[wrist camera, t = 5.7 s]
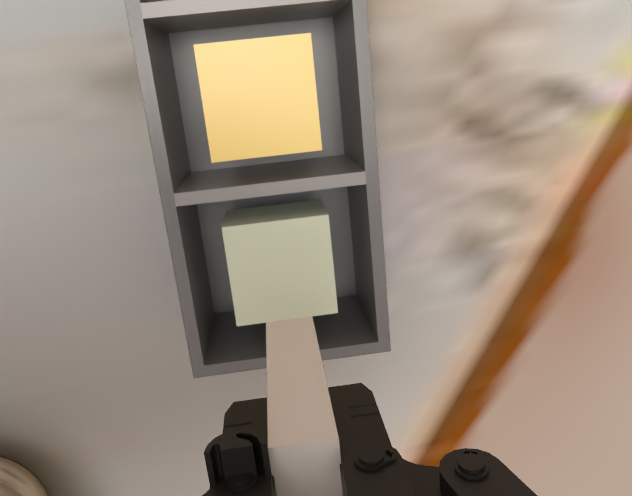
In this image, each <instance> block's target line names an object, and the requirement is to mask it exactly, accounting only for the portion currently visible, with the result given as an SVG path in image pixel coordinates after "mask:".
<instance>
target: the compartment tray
mask: <svg viewBox="0 0 632 496" xmlns="http://www.w3.org/2000/svg"><path fill="white" fill-rule="evenodd" d="M125 5H126V11H127V16H128V22H129V27H130V32H131V38H132V43H133V49H134V54H135V60H136V65H137V71H138V76H139V82H140V87H141V92H142V98H143V103H144V109H145V114H146V120H147V125H148V131H149V136H150V142H151V147H152V152H153V158H154V163H155V169H156V174H157V180H158V185H159V191H160V196H161V202H162V207H163V212H164V218H165V223H166V229H167V234H168V240H169V245H170V251H171V256H172V262H173V267H174V272H175V278H176V283H177V289H178V294H179V300H180V305H181V311H182V316H183V322H184V327H185V333H186V338H187V343H188V349H189V354H190V360H191V365H192V371H193V376H194V378H198V377H205V376H212V375H219V374H227V373H234V372H241V371H249V370H256V369H263V368H267V356H266V323H259V324H251V325H244V326H237V325H236V318H235V312H234V305H233V299H232V292H231V286H230V279H229V273H228V266H227V260H226V253H225V247H224V240H223V234H222V224H223V220H224V217H225V213H226V211H227V210H235V209H244V208H252V207H260V206H269V205H277V204H286V203H294V202H302V201H311V200H319V199H321V201H322V203H323V205H324V207H325V209H326V211H327V213H328V214H329V224H330V234H331V245H332V255H333V265H334V275H335V286H336V296H337V306H338V313H335V314H327V315H320V316H312V317H313V322H314V327H315V331H316V336H317V340H318V345H319V350H320V354H321V359H322V360H329V359H336V358H343V357H351V356H358V355H365V354H373V353H380V352H387V351H391V348H390V333H389V319H388V305H387V290H386V276H385V262H384V247H383V233H382V219H381V204H380V190H379V176H378V161H377V147H376V133H375V119H374V104H373V90H372V76H371V61H370V47H369V33H368V18H367V4H366V0H125ZM303 33H311V39H312V49H313V60H314V70H315V80H316V90H317V101H318V111H319V121H320V132H321V142H322V150H320V151H311V152H302V153H293V154H285V155H276V156H267V157H258V158H249V159H240V160H232V161H223V162H214V163H211V156H210V150H209V143H208V137H207V130H206V124H205V117H204V111H203V104H202V98H201V91H200V85H199V78H198V72H197V65H196V59H195V52H194V46H193V45H194V44H204V43H214V42H223V41H233V40H243V39H253V38H263V37H273V36H283V35H293V34H303Z"/></svg>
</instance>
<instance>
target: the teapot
mask: <svg viewBox="0 0 632 496" xmlns="http://www.w3.org/2000/svg"><path fill="white" fill-rule="evenodd" d="M0 496H47V494H46V492H45V490H44V488H43V487H42V485H41V484H40V482H39V481H38V480H37V479H36V478H35V477H34V476H33V475H32V474H31V473H30V472H29V471H28V470H26V469H25V468H24V467H22V466H20V465H19V464H17V463H15V462H13V461H11V460H8V459H5V458H2V457H0Z"/></svg>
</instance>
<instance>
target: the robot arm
mask: <svg viewBox="0 0 632 496" xmlns="http://www.w3.org/2000/svg"><path fill="white" fill-rule="evenodd" d="M266 356H267V398H260V399H252V400H245V401H238V402H233V404H232V405H231V406H230V408H229V409H228V410H227V412H226V413H225V417H224V428H223V434H222V435H220V436H218V437H216V438H214V439H213V440H212V441H211V442H210V443H209V444H208V445H207V447H206V449H205V451H204V455H205V461H206V466H207V472H208V477H209V482H210V489H209V490H208V491H207V492H206V493H205V494H204V495H202V496H537V495H536V494H535V493H534V492H533V491H532V490H531V489H530V488H528V487H527V486H526V485H525V484H524V483H523V482H522V481H521V480H520V479H519V478H518V477H517V476H516V475H514V473H512V472H511V471H510V470H509V469H508V468H507V467H506V466H505V465H504V464H503V463H502V462H501V461H500V460H499V459H497V458H496V457H494V456H493V455H491V454H490V453H487V452H484V451H481V450H478V449H467V448H465V449H459V450H454V451H452V452H450V453H448V454H446V455H445V456H444V457H443V458H442V460H441V461H440V466H439V467H434V466H423V465H417V464H414V463H411V462H408V461H406V460H404V459H402V457H401V455H400V454H399V453H398V451H397V450H396V449H394V448H393V447H392V446H391V443H390V440H389V437H388V434H387V432H386V429H385V426H384V423H383V421H382V418H381V415H380V413H379V409H378V407H377V405H376V401H375V398H374V396H373V393H372V391H371V390H369V389H368V388H367V387H366V386H364V385H363V384H362V383H357V384H350V385H343V386H336V387H329V388H328V386H327V382H326V377H325V373H324V368H323V363H322V359H321V354H320V350H319V345H318V340H317V336H316V331H315V327H314V322H313V317H312V316H310V317H302V318H295V319H287V320H280V321H272V322H266Z"/></svg>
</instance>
